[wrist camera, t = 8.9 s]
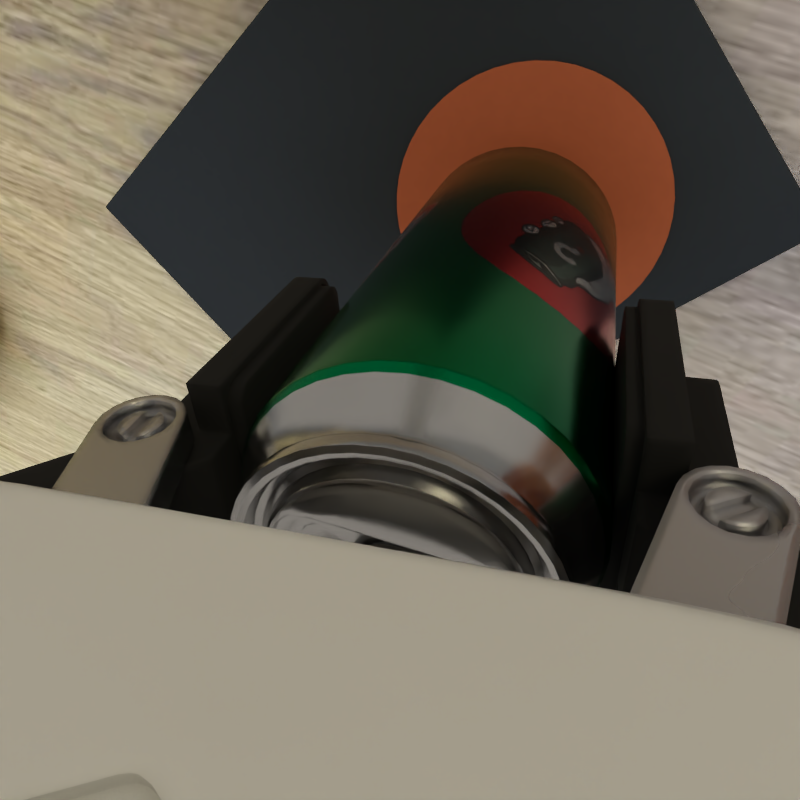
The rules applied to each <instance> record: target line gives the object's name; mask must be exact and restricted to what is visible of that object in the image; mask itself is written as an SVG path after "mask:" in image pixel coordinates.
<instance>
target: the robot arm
mask: <svg viewBox="0 0 800 800" xmlns="http://www.w3.org/2000/svg"><path fill="white" fill-rule="evenodd" d="M339 311H340V308H339V300H338V293H337V290H336V288H335V287H333V286H329V284H328V282H327V280H326V279H324V278H311V277H295V278H294V279H293V280H292V281H291V282H290V283H289V284H288V285H287V286H286V287H285V288H283V289H282V290H281V291H280V292H279V293H278V294H277V295H276V296H275V297H274V298H273V299H272V300H271V301H270V302H269V303H268V304H267V305H266V306H265V307H264V308H263V309H262V310H261V311H260V312H259V313H258V314H257V315H256V316H255V317H254V318H253V319H252V320H251V321H250V322H249V323H248V324H246V325H245V326H244V327H243V328H242V329H241V330H240V331H239V332H238V333H237V334H236V335H235V336H234V337H233V338H232V339H231V340H230V341H229V342H228V343H227V344H226V345H225V346H224V347H223V348H222V349H221V350H220V351H219V352H218V353H217V354H216V355H215V356H214V357H213V358H212V359H211V360H209V361H208V362H207V363H206V364H205V365H204V366H203V367H202V368H201V369H200V370H199V371H198V372H197V373H196V374H195V375H194V376H193V377H192V378H191V379H190V380H189V381H188V382H187V383H186V385H187V388H188V392H189V394H188V395H187V396H186V397H185V398H184V399H183V400H182V401H180V400H178V399H177V398H174V397H170V396H165V395H151V396H144V397H138V398H135V399H131V400H128V401H125V402H123V403H121V404H118V405H116V406H114V407H112V408H111V409H109V410H108V411H107V412H105V413H104V414H102V415H101V416H100V418H99V419H98V420H97V421H96V422H95V423H94V425H93V426H92V428H91V429H90V431H89V432H88V434H87V435H86V437H85V438H84V440H83V442H82V443H81V445H80V446H79V448H78V449H77V451H76V452H75V453H72V454H69V455H65V456H62V457H59V458H56V459H53V460H50V461H47V462H44V463H40V464H37V465H34V466H31V467H28V468H25V469H22V470H19V471H15V472H12V473H9V474H6V475H3V476H0V800H800V506H799V504H798V502H797V501H796V499H795V498H794V497H793V496H792V495H791V494H790V493H789V492H788V491H787V490H786V489H784V488H783V487H782V486H781V485H779V484H777V483H776V482H774V481H772V480H771V479H769V478H767V477H765V476H763V475H760V474H757V473H755V472H752V471H749V470H746V469H741V468H739V467H738V463H737V458H736V454H735V450H734V445H733V441H732V436H731V432H730V428H729V423H728V419H727V415H726V410H725V406H724V401H723V397H722V393H721V388H720V385H719V382H718V381H717V380H712V379H702V378H691V377H685V370H684V364H683V357H682V350H681V344H680V337H679V330H678V324H677V317H676V311H675V304H674V301H666V300H651V299H639V301H638V305H637V307H628V306H625V308H624V314H623V320H622V326H621V333H620V339H619V345H618V352H617V358H616V365H615V403H614V474H613V537H612V546H611V555H610V561H609V564H608V567H607V569H606V572H605V575H604V578H603V580H602V582H601V583H600V585H599V587H595V586H589V585H584V584H579V583H573V582H568V581H562V580H557V579H551V578H546V577H541V576H535V575H530V574H524V573H519V572H513V571H508V570H503V569H497V568H492V567H486V566H481V565H475V564H470V563H465V562H459V561H453V560H448V559H442V558H437V557H431V556H425V555H420V554H414V553H409V552H403V551H397V550H392V549H386V548H381V547H375V546H369V545H364V544H358V543H353V542H347V541H341V540H336V539H330V538H325V537H319V536H314V535H308V534H302V533H297V532H291V531H286V530H280V529H274V528H269V527H263V526H258V525H252V524H247V523H241V522H235V521H231V514H232V510H233V507H234V504H235V500H236V497H237V494H238V492H239V490H240V488H241V486H242V485H243V479H242V459H243V449H244V446H245V442H246V439H247V435H248V432H249V430H250V428H251V426H252V424H253V422H254V421H255V419H256V417H257V415H258V413H259V411H260V410H261V409H262V408H263V406H264V405H265V404H266V403H267V401H268V400H269V399H270V398H271V396H272V395H273V394H274V393H275V391H276V390H277V389H278V388H279V386H280V385H281V384H282V383H283V381H284V380H285V379H286V378H287V376H288V375H289V374H290V373H291V371H292V370H293V369H294V368H295V366H296V365H297V364H298V363H299V361H300V360H301V359H302V358H303V356H304V355H305V354H306V353H307V351H308V350H309V349H310V348H311V346H312V345H313V344H314V343H315V341H316V340H317V339H318V337H319V336H320V335H321V334H322V332H323V331H324V330H325V329H326V327H327V326H328V325H329V324H330V322H331V321H332V320H333V319H334V317H335V316H336V315H337V314H338V312H339Z"/></svg>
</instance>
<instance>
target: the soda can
mask: <svg viewBox="0 0 800 800" xmlns="http://www.w3.org/2000/svg"><path fill="white" fill-rule="evenodd" d="M616 261H617V237H616V225H615V221H614V217H613V214H612V210H611V208H610V205H609V203H608V201H607V199H606V197H605V195H604V193H603V192H602V190H601V189H600V188H599V186H598V185H597V183H596V182H595V181H594V180H593V179H592V178H591V177H590V176H589V175H588V174H587V173H586V172H585V171H584V170H583V169H582V168H580V167H579V166H577V165H576V164H575V163H573V162H572V161H570V160H568V159H566V158H564V157H562V156H560V155H558V154H556V153H553V152H549V151H546V150H542V149H539V148H530V147H505V148H501V149H496V150H491V151H488V152H486V153H483V154H480V155H478V156H475V157H473V158H472V159H470V160H468V161H467V162H465V163H463V164H462V165H460V166H459V167H458V168H457V169H455V170H454V171H453V172H452V173H451V174H449V176H448V177H447V178H446V179H445V180H444V181H443V182H442V184H441V185H440V186H439V187H438V188H437V190H436V191H435V192H434V193H433V195H432V196H431V197H430V198H429V200H428V201H427V202H426V203H425V205H424V206H423V207H422V208H421V210H420V211H419V212H418V213H417V215H416V216H415V217H414V218H413V220H412V221H411V222H410V223H409V225H408V226H407V227H406V228H405V230H404V231H403V232H402V233H401V235H400V236H399V237H398V238H397V240H396V241H395V242H394V243H393V245H392V246H391V247H390V249H389V250H388V251H387V252H386V254H385V255H384V256H383V257H382V259H381V260H380V261H379V262H378V264H377V265H376V266H375V267H374V269H373V270H372V271H371V272H370V274H369V275H368V276H367V277H366V279H365V280H364V281H363V282H362V284H361V285H360V286H359V287H358V289H357V290H356V291H355V292H354V294H353V295H352V296H351V297H350V299H349V300H348V301H347V302H346V304H345V305H344V306H343V307H342V309H341V310H340V311H339V312H338V314H337V315H336V316H335V317H334V319H333V320H332V321H331V322H330V324H329V325H328V326H327V327H326V329H325V330H324V331H323V332H322V334H321V335H320V336H319V337H318V339H317V340H316V341H315V343H314V344H313V345H312V346H311V348H310V349H309V350H308V351H307V353H306V354H305V355H304V356H303V358H302V359H301V360H300V361H299V363H298V364H297V365H296V366H295V368H294V369H293V370H292V371H291V373H290V374H289V375H288V376H287V378H286V379H285V380H284V381H283V383H282V384H281V385H280V386H279V388H278V389H277V390H276V391H275V393H274V394H273V395H272V396H271V398H270V399H269V400H268V401H267V403H266V404H265V405H264V406H263V408H262V409H261V410H260V411H259V413H258V415H257V417H256V419H255V421H254V422H253V424H252V426H251V428H250V430H249V432H248V435H247V439H246V442H245V446H244V449H243V459H242V479H243V485H242V486H241V488H240V490H239V492H238V494H237V497H236V500H235V504H234V507H233V510H232V514H231V521H235V522H241V523H247V524H252V525H258V526H263V527H269V528H274V529H280V530H286V531H291V532H297V533H302V534H308V535H314V536H319V537H325V538H330V539H336V540H341V541H347V542H353V543H358V544H364V545H369V546H375V547H381V548H386V549H392V550H397V551H403V552H409V553H414V554H420V555H425V556H431V557H437V558H442V559H448V560H453V561H459V562H465V563H470V564H475V565H481V566H486V567H492V568H497V569H503V570H508V571H513V572H519V573H524V574H530V575H535V576H541V577H546V578H551V579H557V580H562V581H568V582H573V583H579V584H584V585H589V586H595V587H599V585H600V583H601V582H602V580H603V578H604V575H605V572H606V569H607V567H608V564H609V561H610V555H611V546H612V537H613V474H614V403H615V332H616Z"/></svg>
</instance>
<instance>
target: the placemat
mask: <svg viewBox="0 0 800 800" xmlns="http://www.w3.org/2000/svg"><path fill="white" fill-rule="evenodd" d="M505 147H530V148H539V149H542V150H546V151H549V152H553V153H556V154H558V155H560V156H562V157H564V158H566V159H568V160H570V161H572V162H573V163H575V164H576V165H577V166H579V167H580V168H582V169H583V170H584V171H585V172H586V173H587V174H588V175H589V176H590V177H591V178H592V179H593V180H594V181H595V182H596V183H597V185H598V186H599V188H600V189H601V190H602V192H603V193H604V195H605V197H606V199H607V201H608V203H609V205H610V208H611V210H612V214H613V217H614V221H615V225H616V237H617V261H616V332H615V340H616V339H618V338H620V333H621V326H622V320H623V314H624V308H625V306H628V307H637V305H638V301H639V299H651V300H666V301H674V304H675V309H676V308H678V307H680V306H681V305H683V304H685V303H687V302H689V301H691V300H693V299H695V298H697V297H699V296H701V295H702V294H704V293H706V292H708V291H710V290H712V289H714V288H716V287H718V286H720V285H722V284H724V283H725V282H727V281H729V280H731V279H733V278H735V277H737V276H739V275H741V274H743V273H745V272H746V271H748V270H750V269H752V268H754V267H756V266H758V265H760V264H762V263H764V262H766V261H767V260H769V259H771V258H773V257H775V256H777V255H779V254H781V253H783V252H785V251H787V250H789V249H790V248H792V247H794V246H796V245H798V244H800V188H799V186H798V184H797V182H796V181H795V179H794V177H793V175H792V174H791V172H790V170H789V168H788V166H787V165H786V163H785V161H784V159H783V158H782V156H781V154H780V152H779V151H778V149H777V147H776V145H775V143H774V142H773V140H772V138H771V136H770V135H769V133H768V131H767V129H766V127H765V126H764V124H763V122H762V120H761V119H760V117H759V115H758V113H757V111H756V110H755V108H754V106H753V104H752V103H751V101H750V99H749V97H748V95H747V94H746V92H745V90H744V88H743V87H742V85H741V83H740V81H739V79H738V78H737V76H736V74H735V72H734V71H733V69H732V67H731V65H730V63H729V62H728V60H727V58H726V56H725V55H724V53H723V51H722V49H721V47H720V46H719V44H718V42H717V40H716V39H715V37H714V35H713V33H712V31H711V30H710V28H709V26H708V24H707V23H706V21H705V19H704V17H703V16H702V14H701V12H700V10H699V8H698V7H697V5H696V3H695V1H694V0H269V1H268V2H267V3H266V5H265V6H264V7H263V8H262V10H261V11H260V12H259V14H258V15H257V16H256V17H255V19H254V20H253V21H252V22H251V24H250V25H249V26H248V27H247V29H246V30H245V31H244V33H243V34H242V35H241V36H240V38H239V39H238V40H237V41H236V43H235V44H234V45H233V46H232V48H231V49H230V50H229V52H228V53H227V54H226V55H225V57H224V58H223V59H222V60H221V62H220V63H219V64H218V65H217V67H216V68H215V69H214V70H213V72H212V73H211V74H210V76H209V77H208V78H207V79H206V81H205V82H204V83H203V84H202V86H201V87H200V88H199V89H198V91H197V92H196V93H195V95H194V96H193V97H192V98H191V100H190V101H189V102H188V103H187V105H186V106H185V107H184V108H183V110H182V111H181V112H180V114H179V115H178V116H177V117H176V119H175V120H174V121H173V122H172V124H171V125H170V126H169V127H168V129H167V130H166V131H165V132H164V134H163V135H162V136H161V138H160V139H159V140H158V141H157V143H156V144H155V145H154V146H153V148H152V149H151V150H150V151H149V153H148V154H147V155H146V157H145V158H144V159H143V160H142V162H141V163H140V164H139V165H138V167H137V168H136V169H135V170H134V172H133V173H132V174H131V176H130V177H129V178H128V179H127V181H126V182H125V183H124V184H123V186H122V187H121V188H120V189H119V191H118V192H117V193H116V194H115V196H114V197H113V198H112V200H111V201H110V202H109V203H108V205H107V206H106V208H107V209H108V210H109V211H110V212H111V213H112V214H113V215H114V216H115V217H116V218H117V219H118V220H119V221H120V223H121V224H122V225H123V226H124V227H125V228H126V229H127V230H128V231H129V232H130V233H131V234H132V235H133V236H134V237H135V238H136V239H137V240H138V241H139V243H140V244H141V245H142V246H143V247H144V248H145V249H146V250H147V251H148V252H149V253H150V254H151V255H152V256H153V257H154V258H155V259H156V260H157V261H158V263H159V264H160V265H161V266H162V267H163V268H164V269H165V270H166V271H167V272H168V273H169V274H170V275H171V276H172V277H173V278H174V279H175V280H176V281H177V283H178V284H179V285H180V286H181V287H182V288H183V289H184V290H185V291H186V292H187V293H188V294H189V295H190V296H191V297H192V298H193V299H194V300H195V301H196V302H197V304H198V305H199V306H200V307H201V308H202V309H203V310H204V311H205V312H206V313H207V314H208V315H209V316H210V317H211V318H212V319H213V320H214V321H215V322H216V324H217V325H218V326H219V327H220V328H221V329H222V330H223V331H224V332H225V333H226V334H227V335H228V336H229V337H230V338H231V339H232V338H233V337H234V336H235V335H236V334H237V333H238V332H239V331H240V330H241V329H242V328H243V327H244V326H245V325H246V324H248V323H249V322H250V321H251V320H252V319H253V318H254V317H255V316H256V315H257V314H258V313H259V312H260V311H261V310H262V309H263V308H264V307H265V306H266V305H267V304H268V303H269V302H270V301H271V300H272V299H273V298H274V297H275V296H276V295H277V294H278V293H279V292H280V291H281V290H282V289H283V288H285V287H286V286H287V285H288V284H289V283H290V282H291V281H292V280H293V279H294V278H295V277H311V278H324V279H326V280H327V282H328V284H329V286H333V287H335V288H336V290H337V293H338V300H339V308H340V310H341V309H342V307H343V306H344V305H345V304H346V302H347V301H348V300H349V299H350V297H351V296H352V295H353V294H354V292H355V291H356V290H357V289H358V287H359V286H360V285H361V284H362V282H363V281H364V280H365V279H366V277H367V276H368V275H369V274H370V272H371V271H372V270H373V269H374V267H375V266H376V265H377V264H378V262H379V261H380V260H381V259H382V257H383V256H384V255H385V254H386V252H387V251H388V250H389V249H390V247H391V246H392V245H393V243H394V242H395V241H396V240H397V238H398V237H399V236H400V235H401V233H402V232H403V231H404V230H405V228H406V227H407V226H408V225H409V223H410V222H411V221H412V220H413V218H414V217H415V216H416V215H417V213H418V212H419V211H420V210H421V208H422V207H423V206H424V205H425V203H426V202H427V201H428V200H429V198H430V197H431V196H432V195H433V193H434V192H435V191H436V190H437V188H438V187H439V186H440V185H441V184H442V182H443V181H444V180H445V179H446V178H447V177H448V176H449V174H451V173H452V172H453V171H454V170H455V169H457V168H458V167H459V166H460V165H462V164H463V163H465V162H467V161H468V160H470V159H472V158H473V157H475V156H478V155H480V154H483V153H486V152H488V151H491V150H496V149H501V148H505Z"/></svg>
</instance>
